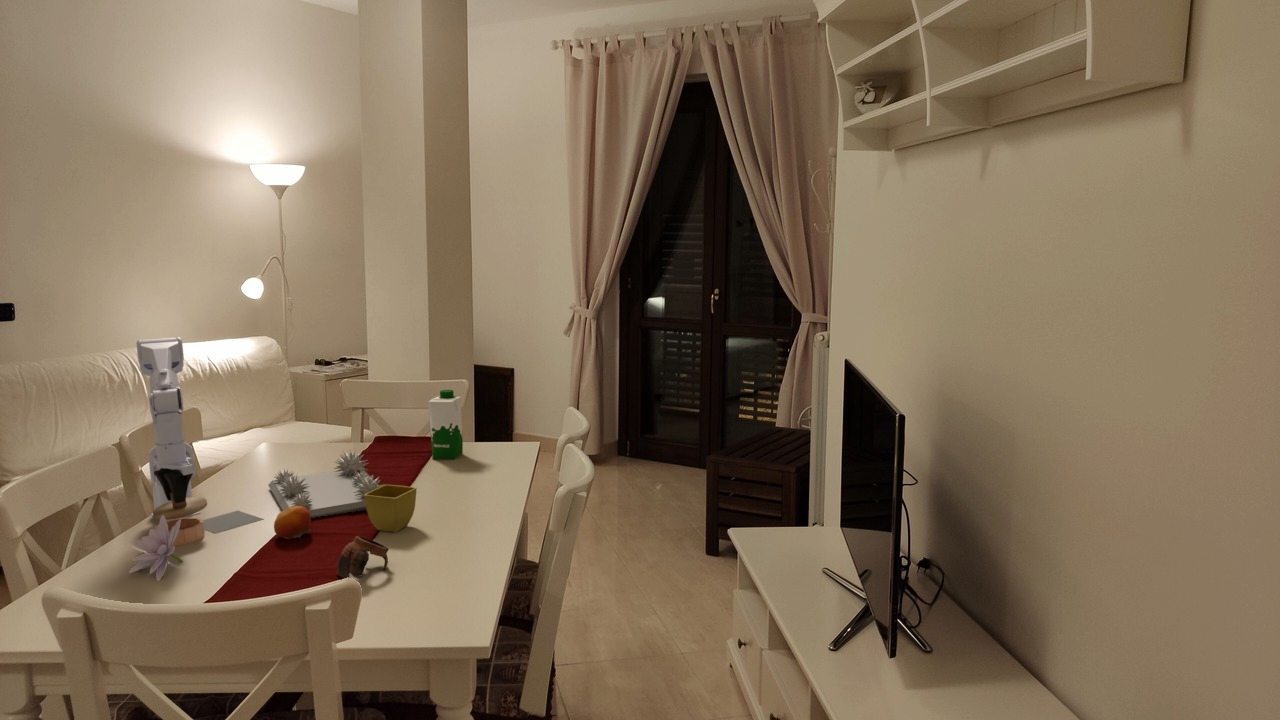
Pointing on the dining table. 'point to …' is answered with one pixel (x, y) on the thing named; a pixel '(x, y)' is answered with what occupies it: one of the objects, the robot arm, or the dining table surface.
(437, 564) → the dining table surface
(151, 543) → the water lily
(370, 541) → the pottery mug
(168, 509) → the lid
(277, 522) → the fruit
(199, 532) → the bowl
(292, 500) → the decorative tray
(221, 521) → the mat
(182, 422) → the robot arm
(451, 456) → the milk carton
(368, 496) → the flower pot
